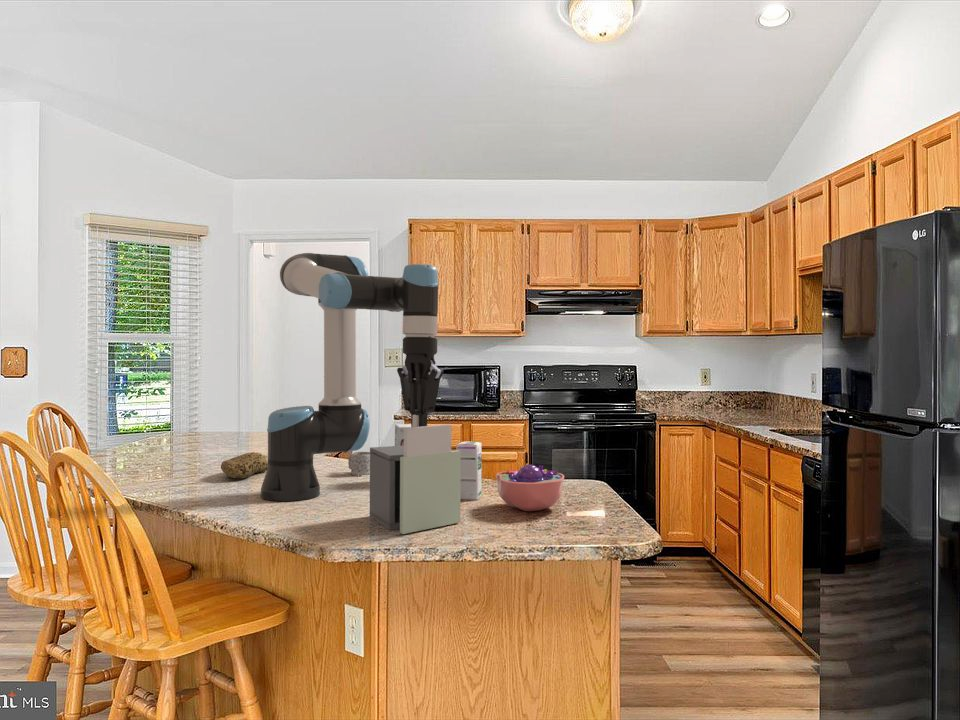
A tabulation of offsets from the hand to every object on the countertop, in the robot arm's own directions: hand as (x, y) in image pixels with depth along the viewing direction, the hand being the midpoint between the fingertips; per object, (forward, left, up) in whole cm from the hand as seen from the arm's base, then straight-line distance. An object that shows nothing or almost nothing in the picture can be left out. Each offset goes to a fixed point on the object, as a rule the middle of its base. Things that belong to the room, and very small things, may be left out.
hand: (418, 444), depth 152 cm
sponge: (-82, -25, -19) cm, 88 cm away
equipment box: (-8, +2, -18) cm, 20 cm away
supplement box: (-51, +18, -18) cm, 57 cm away
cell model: (-6, +32, -18) cm, 37 cm away
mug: (-71, +8, -18) cm, 74 cm away
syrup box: (-24, +24, -18) cm, 38 cm away
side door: (+2, +2, -18) cm, 18 cm away
